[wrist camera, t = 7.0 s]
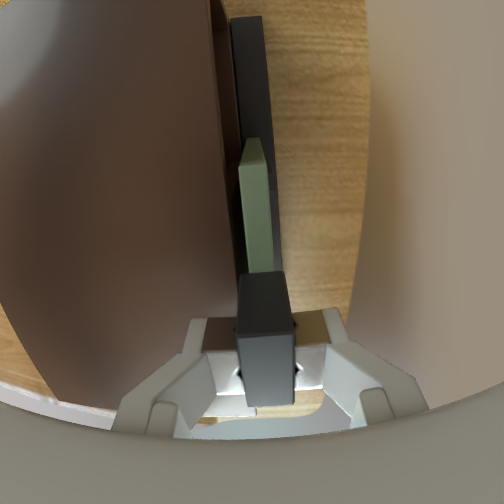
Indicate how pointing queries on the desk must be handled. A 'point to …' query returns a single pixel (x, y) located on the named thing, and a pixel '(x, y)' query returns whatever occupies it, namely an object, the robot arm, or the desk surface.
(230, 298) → the cabinet
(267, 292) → the sliding door
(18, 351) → the desk surface
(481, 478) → the robot arm
